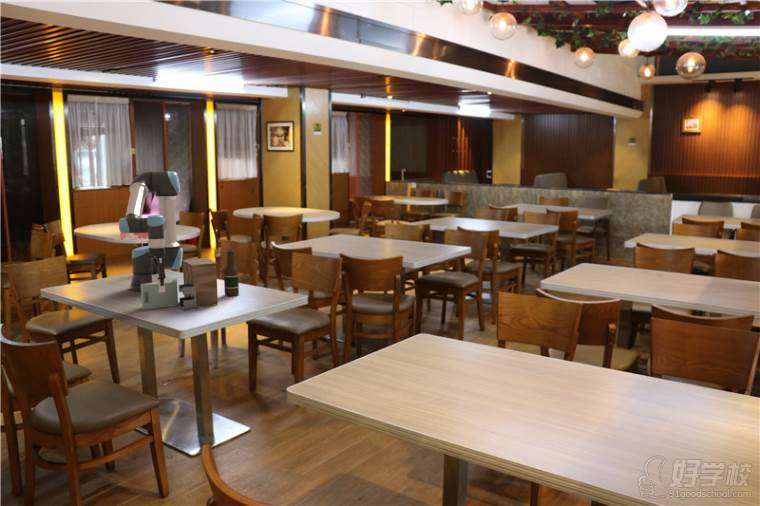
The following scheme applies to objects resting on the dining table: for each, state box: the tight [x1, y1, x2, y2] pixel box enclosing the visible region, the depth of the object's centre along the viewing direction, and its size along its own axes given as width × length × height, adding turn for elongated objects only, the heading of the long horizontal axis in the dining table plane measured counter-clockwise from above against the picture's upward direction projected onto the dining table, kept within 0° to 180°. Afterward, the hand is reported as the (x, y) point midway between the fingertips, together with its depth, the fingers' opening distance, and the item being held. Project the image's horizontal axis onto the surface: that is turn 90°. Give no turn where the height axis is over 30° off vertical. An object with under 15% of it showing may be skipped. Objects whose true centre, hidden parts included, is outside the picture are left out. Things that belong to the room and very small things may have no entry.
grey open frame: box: [178, 283, 197, 312], centre depth 314 cm, size 8×6×12 cm
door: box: [140, 278, 179, 310], centre depth 317 cm, size 5×17×13 cm, turn 122°
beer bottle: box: [223, 250, 240, 298], centre depth 342 cm, size 8×8×24 cm
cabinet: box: [182, 257, 219, 308], centre depth 326 cm, size 18×13×21 cm
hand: (158, 289), depth 317 cm, fingers open, 13 cm apart
